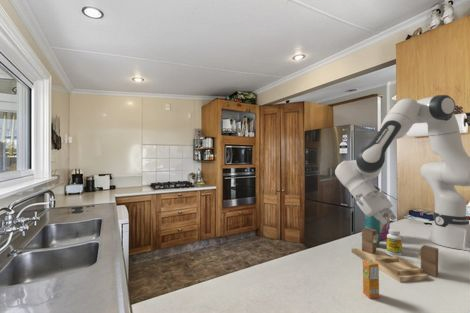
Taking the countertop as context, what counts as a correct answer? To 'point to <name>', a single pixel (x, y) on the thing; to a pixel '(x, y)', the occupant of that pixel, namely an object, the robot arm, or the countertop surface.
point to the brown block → (429, 260)
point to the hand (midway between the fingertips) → (390, 221)
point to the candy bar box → (384, 226)
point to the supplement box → (371, 279)
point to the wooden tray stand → (387, 259)
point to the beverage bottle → (373, 225)
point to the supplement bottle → (394, 242)
